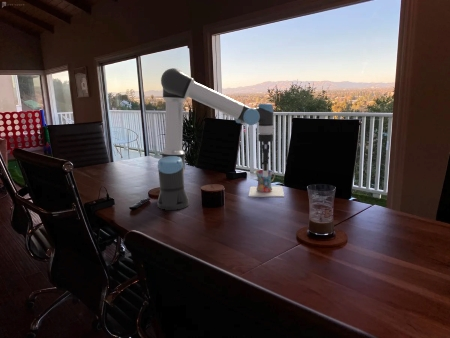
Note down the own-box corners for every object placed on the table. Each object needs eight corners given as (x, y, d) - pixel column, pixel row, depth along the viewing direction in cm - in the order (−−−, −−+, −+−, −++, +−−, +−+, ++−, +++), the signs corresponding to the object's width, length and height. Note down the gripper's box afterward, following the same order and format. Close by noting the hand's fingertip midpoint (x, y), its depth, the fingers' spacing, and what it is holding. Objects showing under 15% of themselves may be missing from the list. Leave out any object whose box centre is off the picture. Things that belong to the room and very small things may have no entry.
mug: (262, 194, 167) (262, 174, 165) (252, 190, 175) (251, 171, 173) (280, 190, 172) (280, 171, 170) (270, 186, 180) (269, 168, 178)
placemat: (284, 196, 163) (284, 195, 163) (248, 196, 165) (248, 195, 165) (282, 187, 180) (282, 186, 180) (250, 187, 183) (250, 186, 183)
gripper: (273, 136, 154) (273, 179, 158) (272, 131, 178) (272, 168, 182) (257, 136, 155) (257, 179, 159) (258, 131, 179) (258, 168, 183)
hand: (265, 173), depth 171 cm, fingers open, 13 cm apart
